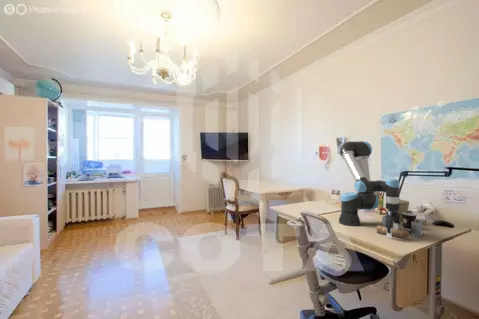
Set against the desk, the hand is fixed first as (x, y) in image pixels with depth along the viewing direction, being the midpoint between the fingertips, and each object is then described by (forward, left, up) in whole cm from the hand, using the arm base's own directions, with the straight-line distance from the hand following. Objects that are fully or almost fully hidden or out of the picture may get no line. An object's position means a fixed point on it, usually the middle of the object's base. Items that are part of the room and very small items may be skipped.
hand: (392, 235), depth 151 cm
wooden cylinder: (0, 0, 0) cm, 0 cm away
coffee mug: (+2, +28, 0) cm, 28 cm away
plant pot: (-8, +43, 0) cm, 44 cm away
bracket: (+2, +13, 0) cm, 13 cm away
